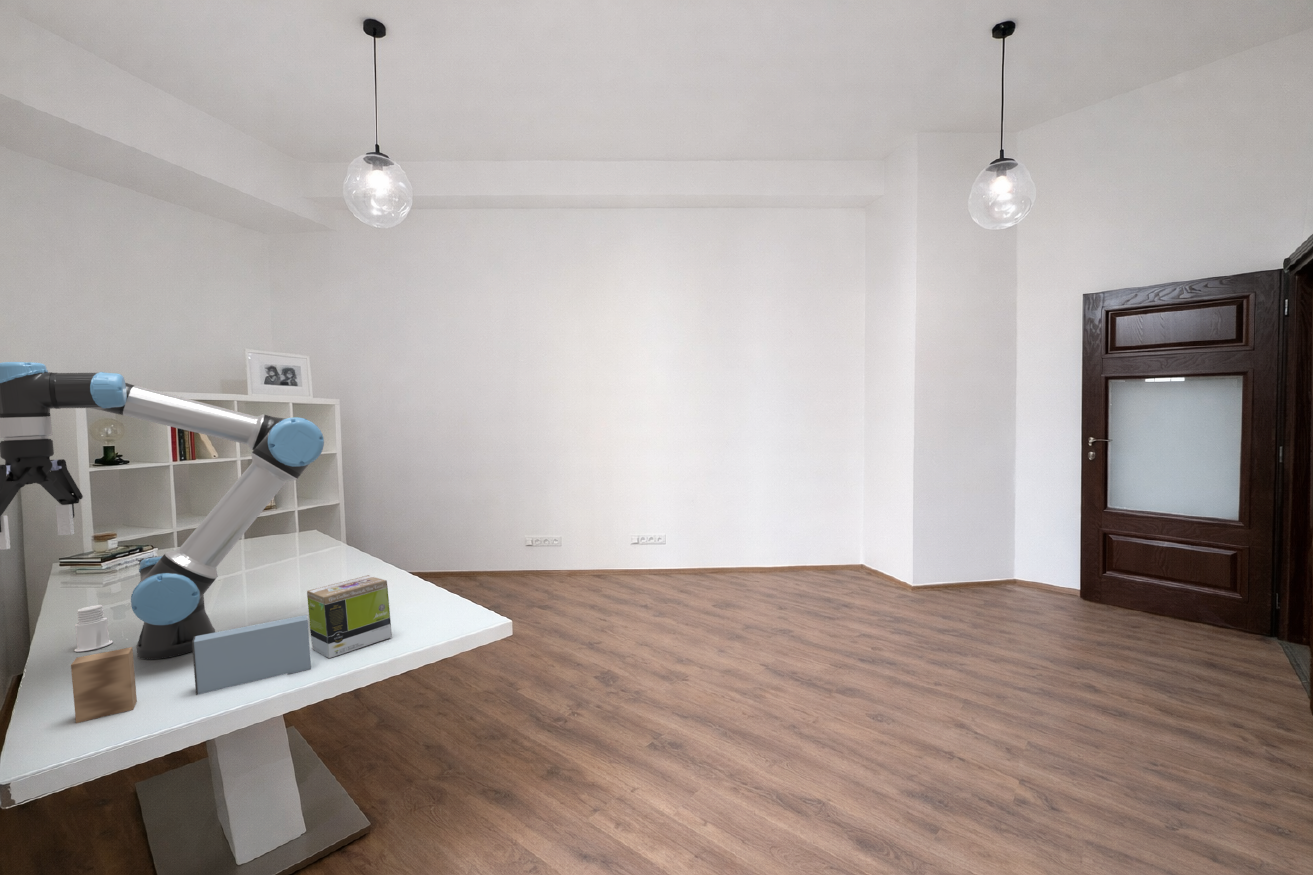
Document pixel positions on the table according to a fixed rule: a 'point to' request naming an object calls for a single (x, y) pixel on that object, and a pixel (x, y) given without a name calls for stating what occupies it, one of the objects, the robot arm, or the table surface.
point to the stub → (103, 684)
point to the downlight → (91, 629)
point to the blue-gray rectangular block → (250, 653)
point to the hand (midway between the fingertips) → (35, 541)
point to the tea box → (349, 615)
